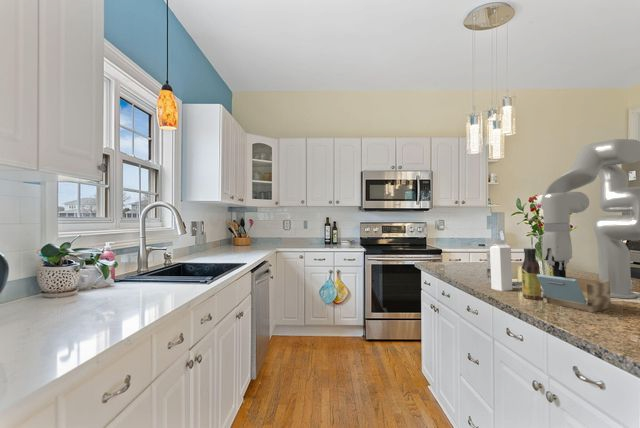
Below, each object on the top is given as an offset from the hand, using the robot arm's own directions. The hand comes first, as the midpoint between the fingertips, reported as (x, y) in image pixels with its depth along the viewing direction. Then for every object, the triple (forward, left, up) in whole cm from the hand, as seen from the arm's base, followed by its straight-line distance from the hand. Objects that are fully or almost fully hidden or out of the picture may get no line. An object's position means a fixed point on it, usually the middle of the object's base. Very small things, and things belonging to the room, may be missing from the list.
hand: (559, 280), depth 118 cm
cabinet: (-9, 0, -10) cm, 13 cm away
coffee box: (-23, -40, -10) cm, 47 cm away
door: (+1, 0, -3) cm, 4 cm away
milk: (-12, -31, -10) cm, 35 cm away
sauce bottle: (-6, -14, -10) cm, 18 cm away
